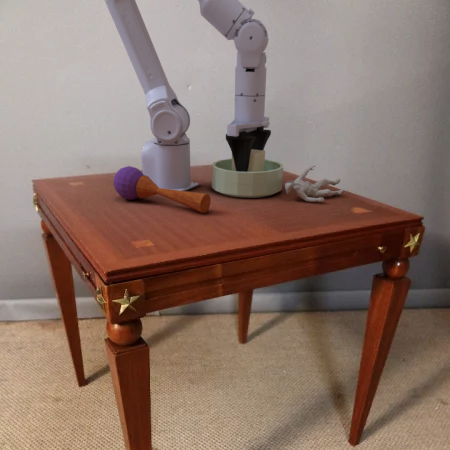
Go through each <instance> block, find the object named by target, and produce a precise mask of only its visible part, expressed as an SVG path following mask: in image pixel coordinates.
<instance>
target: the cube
mask: <svg viewBox="0 0 450 450" xmlns="http://www.w3.org/2000/svg"><path fill="white" fill-rule="evenodd" d="M231 158H232V171H236V168H235V163H234V159H233V155H232V154H231ZM265 159H266V150H265V149H264V150H254V149H251V153H250V159H249V167H248V171H247V172H261V171H264V167H265Z"/></svg>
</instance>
